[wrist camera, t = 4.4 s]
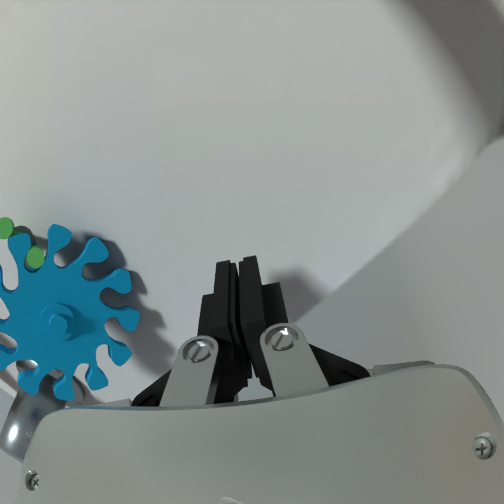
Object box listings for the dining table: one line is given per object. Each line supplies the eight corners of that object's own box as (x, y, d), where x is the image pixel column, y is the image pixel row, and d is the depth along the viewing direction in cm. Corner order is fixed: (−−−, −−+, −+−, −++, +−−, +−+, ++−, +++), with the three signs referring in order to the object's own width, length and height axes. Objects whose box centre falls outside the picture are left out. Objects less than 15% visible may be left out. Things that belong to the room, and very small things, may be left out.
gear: (169, 349, 16) (45, 432, 11) (134, 321, 21) (35, 384, 15) (94, 172, 12) (-67, 261, 6) (77, 185, 17) (-41, 249, 11)
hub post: (54, 352, 19) (14, 448, 11) (98, 403, 23) (77, 487, 15) (6, 350, 20) (-31, 425, 11) (48, 397, 24) (25, 467, 15)
